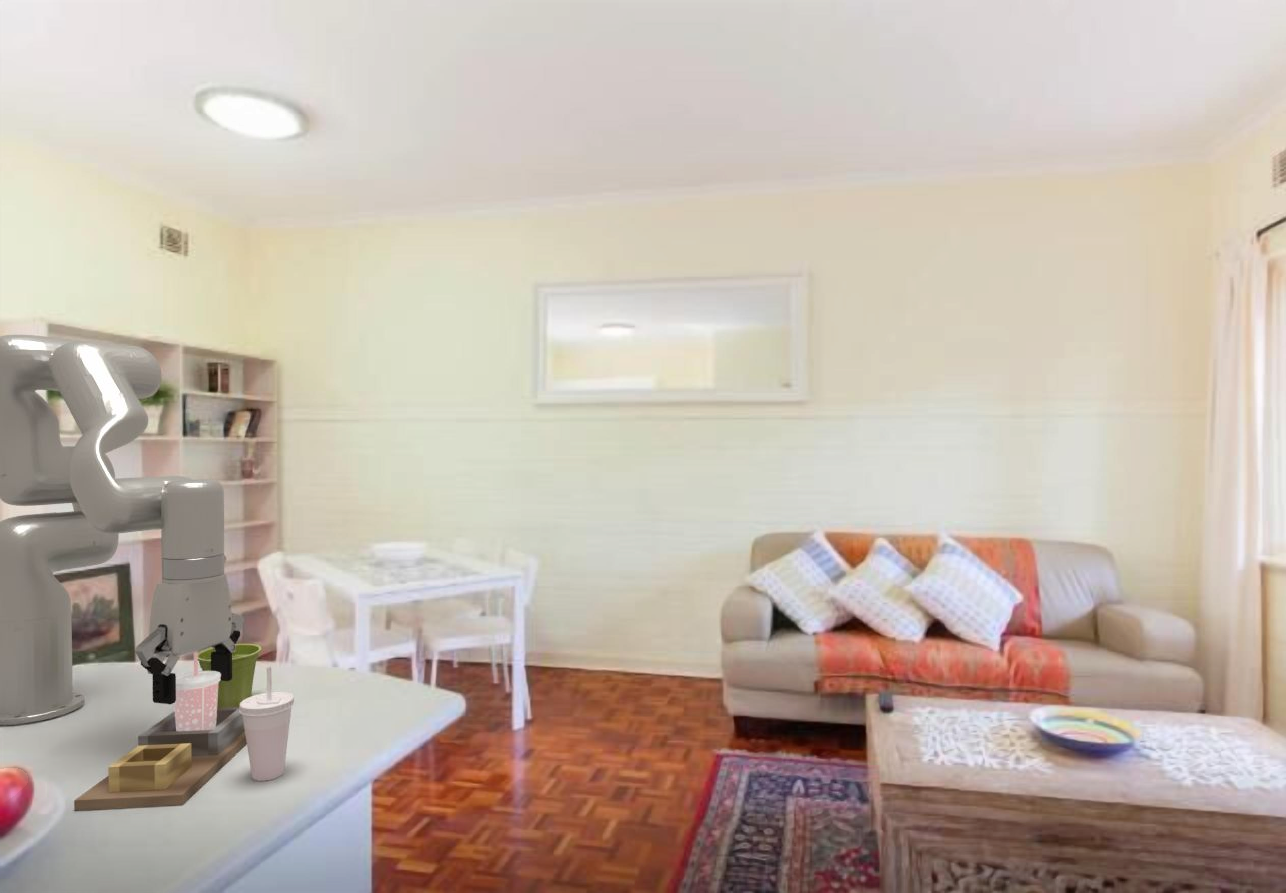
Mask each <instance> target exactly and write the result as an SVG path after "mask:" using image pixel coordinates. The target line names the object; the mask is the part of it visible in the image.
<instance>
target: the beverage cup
mask: <svg viewBox="0 0 1286 893" xmlns="http://www.w3.org/2000/svg"><path fill="white" fill-rule="evenodd" d="M198 653H199V651H198V652H195V653H193V671H191V672H186V673H183V674H179V675H176V701H175V703H173V706H174V708H173V709H174V711H175V722H176V731H195V730H213V729H214V728H215V727H216V718H217V701H218V684H219V681H220V680H221V679H220V677H221V674H220V672H217V671H202V670H199V667H198V665H199V664H198V663H199V661H198Z"/></svg>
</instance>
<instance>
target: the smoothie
mask: <svg viewBox="0 0 1286 893" xmlns="http://www.w3.org/2000/svg"><path fill="white" fill-rule="evenodd" d="M272 672H273V671H272V666H271V665H270V666H267V667H266V693H264V692H263V693H259V694H255V695H251V697H249V698H247V699H245V700H243V701H242V702H241V703H240V710H239V712H240V714H242V715H243V723H244V729H245V735H246V742H247V744H246V747H247V754H248V759H249V760H248V761H249V767H250V771H251V772H250V773H251V774H250V775H251V779H252V778H253V779H254V781H256V780H257V782H264V781H265V782H266V780H267V781H272V780H274V779H276V778H277V779H278V778H280V777H281V776H282V775H284V773H285V767H286V766H285V765H286V757H287V748H288V738H289V731H290V730H289V729H290V724H291V723H290V722H291V715H292V714H291V712H292V708H293V707H294V705H295V696H294V695H293V694H292V693H290V692H284V691H280V692H279V691H276V692H275V691H274V692H273V687H272V685H273V684H272V683H273V682H272V677H273V676H272V675H273V674H272ZM253 779H252V780H253Z"/></svg>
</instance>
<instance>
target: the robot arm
mask: <svg viewBox="0 0 1286 893" xmlns="http://www.w3.org/2000/svg"><path fill="white" fill-rule="evenodd" d="M162 376H163V373H162V370H161V367H160V363H159V362H158V360H157V359H156V357H155V356H154V355H153V354H152V353H151V352H150V351H148V350H147V349H146V348H143V347H141V346H136V345H130V344H129V345H126V344H120V343H109V342H102V341H101V342H100V341H89V340H88V341H87V340H81V339H80V340H78V339H68V338H61V337H52V336H44V335H33V334H31V335H30V334H5V335H0V501H2V502H3V503H4V504H7V505H11V506H15V507H16V506H18V507H31V506H32V507H33V506H36V507H37V506H48V505H61V504H62V505H63V504H71V505H72V508H73V511H61V512H47V513H46V512H45V513H33V514H22V515H16V516H12V517H8V518H5V519H3V520H1V521H0V726H13V725H24V724H28V723H29V724H31V723H36V722H41V721H44V720H50V719H53V718H57V717H61V716H63V715H67V714H70V713H71V712H74V711H77V709H80V708H81V707H82V706H83V705H84V704H85V695H84V694H83V693H81V692H77V691H73V690H74V688H73V639H72V638H73V637H72V635H73V631H72V630H73V629H72V600H71V597H70V593H69V591H68V589H67V588H65V586H64V585H63V583H61V582H60V581H59V580H58V578H56V577H55V574H54V572H60V571H66V570H71V569H79V568H86V567H92V566H97V565H98V566H99V565H102V564H104V563H106V562H108V561H109V560H111V559H112V558H113V557H114V556H115V554H116V552H117V550H118V547H119V538H120V537H119V536H120V535H119V534H125V533H126V534H127V533H135V532H136V533H137V532H144V531H151V530H161V532H160V533H161V536H160V537H161V539H160V541H161V542H160V543H161V545H160V547H161V548H160V549H161V581H159V582H156V585H155V587H154V588H155V589H154V592H153V595H152V602H151V607H150V609H151V610H150V618H149V632H148V636H147V637H145V639H144V640H142V641H141V642H140V643H139V644H138V645H137V646H135V648H134V652H135V655H136V657H137V658H138V660H139V661H140V666H142V668H144V669H145V670H146V671H147V674H149V675H152V702H153V703H154V704H162V705H172V704H173V705H174V703H175V701H176V676H177V675H176V673H174V672H173V670H174V668H175V667H176V664H177V663H178V661H179V659H180V657H185V656H188V655H191V654H194V653H195V652H198V653H199V652H202V651H204V650H207V649H210V648H213V649H214V650H215V651H216V652H215V651H213V652H211V671H217V672H220V674H221V677H220V679H221V680H220V681H230V680H232V653H231V652H234V651H235V649H236V645H235V644H237V642H238V641H239V639H240V638H241V631H242V629H243V626H244V623H245V617H244V616H242V615H238V614H236V613H233V612H232V600H231V594H230V586H229V582H228V577H227V573H225V563H226V562H227V557H226V555H225V504H224V503H225V501H224V500H225V492H224V490H225V489H224V487H223V485H222V483H220V482H219V481H217V480H214V479H204V478H203V479H201V478H198V479H196V478H195V479H193V478H190V477H186V476H178V475H177V476H175V475H172V476H171V475H169V476H167V475H166V476H148V477H147V476H146V477H145V476H144V477H143V476H142V477H125V478H124V477H122V478H116V473H115V468H114V466H113V464H112V461H111V460H110V458H109V457H108V455H107V453H109V452H112V451H114V450H117V449H119V448H121V447H124V446H126V445H128V444H130V443H132V442H133V441H134V440H136V439H138V438H140V436H141V435H142V434H143V433H144V432H146V429H147V428H148V425H149V415H148V413H147V411H146V410H145V408H144V407H143V405H142V403H141V401H140V400H142V399H148V398H150V397H152V396H154V395H155V394H156V393H157V392H158V390H159V389H160V387H161V385H162ZM37 391H55V392H59V393H60V395H61V397H62V399H63V401H64V403H65V404H66V406H67V408H68V411H69V412H70V415H71V416H72V418H73V420H74V422H75V424H76V425H77V427H78V429H79V431H80V432H81V436H80V438H79V439H78V441H76V444H75V445H73V446H69V445H68V446H66V445H65V446H64V445H62V443H61V436H60V421H59V418H58V417H59V416H58V415H57V414H56V411H55V410H54V409H53V408H52V406H51V405H50V404H49V403H48V401H46V400H45V399H44V398H43V396H41V395H40V394H39V392H37ZM166 658H167V659H166ZM165 659H166V660H165ZM164 661H165V663H164Z"/></svg>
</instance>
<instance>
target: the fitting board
mask: <svg viewBox="0 0 1286 893" xmlns="http://www.w3.org/2000/svg"><path fill="white" fill-rule="evenodd" d="M239 710H240V707H226V708H217V718H216V727H215V728H214V729H213V730H195V731H176V722H175V710H174V711H173V712H171V713H169V714H168V715H167V716H165V717H164V718H163V719H161V720H159V721H158V722H156V723H155V724H154V725H152V726H151V727H150V728H148V729H147V730H145V731H143V732H142V733H140V734H139V735H138V737H137V741H138V742H137V743H138V744H137V745H138V746H136V747H134V748H133V749H131V751H129V752H128V753H126V754H125V755H123V756H122V757H121V758H119V759H118V760H115V762H114V763H112V764H111V765H109V766H108V774H107V776H106V777H104V778H103V779H102V780H100V781H99V782H97V783H96V784H95V785H94V786H92V787H90V788H89V789H88V790H86V792H84V793H82V794H81V795H80V796H78V797H77V798H76V799H74V801H73V802H74V804H73V810H79V811H97V810H108V809H109V810H113V809H131V808H149V807H168V806H183V805H184V804H185V803H186V802H187V801H188V800H189V799H190V798H192V797H193V796H194V795H195V794H196V793H197V792H198V791H199V790H200V789H201V788H203V787H204V786H205V784H206V783H208V782H209V780H211V778H213V776H215V775H216V774H217V773H218V772H219V771H220V770H221V769H222V768H223V767H224V766H225V765H226V764H227V763H229V762H230V761H231V760H232V759H233V758H234V757H235V756H236V755H237V754H238V753H239V752H240V751H241V750H242V749H243V748H244V747H246V746H247V742H246V735H245V729H244V723H243V715H242V714H240V712H239ZM236 753H237V754H236ZM235 754H236V755H235ZM233 756H234V757H233ZM232 757H233V758H232ZM231 758H232V759H231Z"/></svg>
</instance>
